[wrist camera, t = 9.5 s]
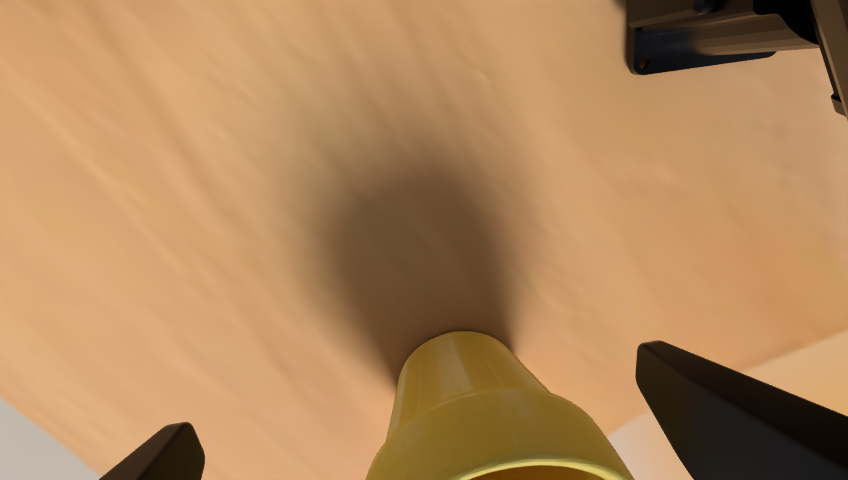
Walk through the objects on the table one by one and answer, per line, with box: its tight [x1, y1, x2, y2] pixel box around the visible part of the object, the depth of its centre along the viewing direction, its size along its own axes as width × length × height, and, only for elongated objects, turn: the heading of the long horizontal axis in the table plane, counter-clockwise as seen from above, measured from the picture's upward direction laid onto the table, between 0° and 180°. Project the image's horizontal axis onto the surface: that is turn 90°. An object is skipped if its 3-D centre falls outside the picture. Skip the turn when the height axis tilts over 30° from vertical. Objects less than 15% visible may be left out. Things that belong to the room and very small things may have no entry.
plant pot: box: [366, 331, 635, 480], centre depth 19 cm, size 10×10×10 cm
